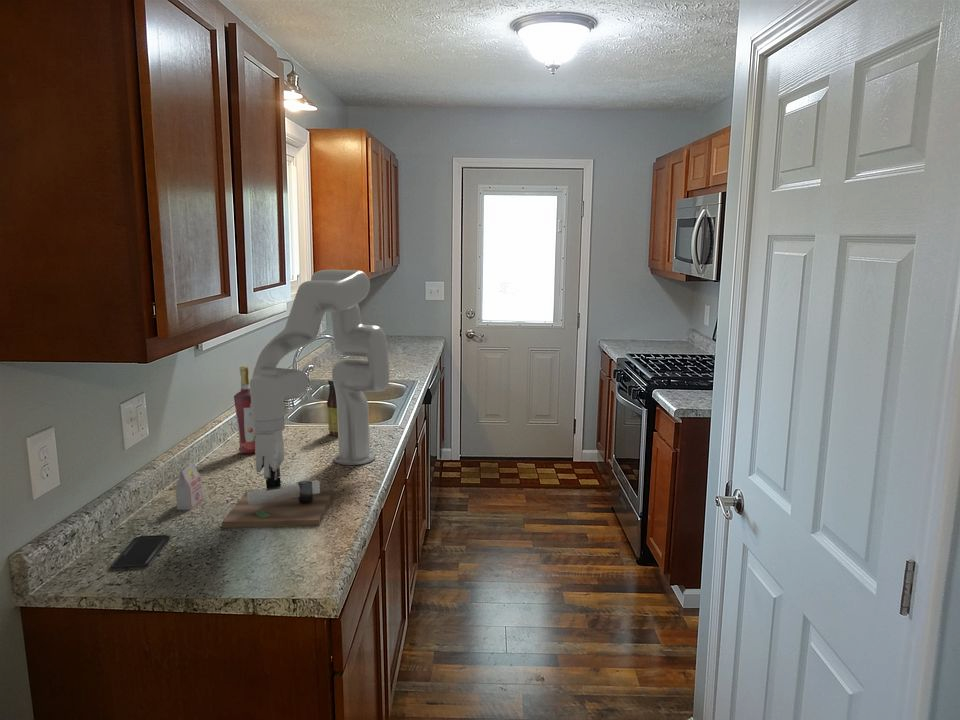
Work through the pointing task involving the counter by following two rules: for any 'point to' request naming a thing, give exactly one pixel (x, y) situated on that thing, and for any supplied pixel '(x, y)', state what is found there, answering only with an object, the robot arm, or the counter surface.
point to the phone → (140, 552)
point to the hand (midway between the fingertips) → (274, 493)
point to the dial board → (279, 512)
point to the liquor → (245, 414)
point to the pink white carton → (189, 489)
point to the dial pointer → (285, 493)
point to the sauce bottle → (332, 409)
